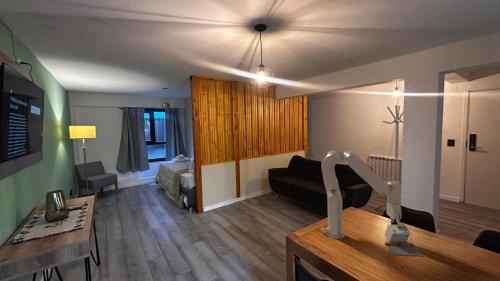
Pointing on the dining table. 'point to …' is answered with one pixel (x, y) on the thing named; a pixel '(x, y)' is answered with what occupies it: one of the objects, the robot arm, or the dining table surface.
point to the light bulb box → (397, 233)
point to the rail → (398, 244)
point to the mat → (404, 250)
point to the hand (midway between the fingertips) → (394, 227)
